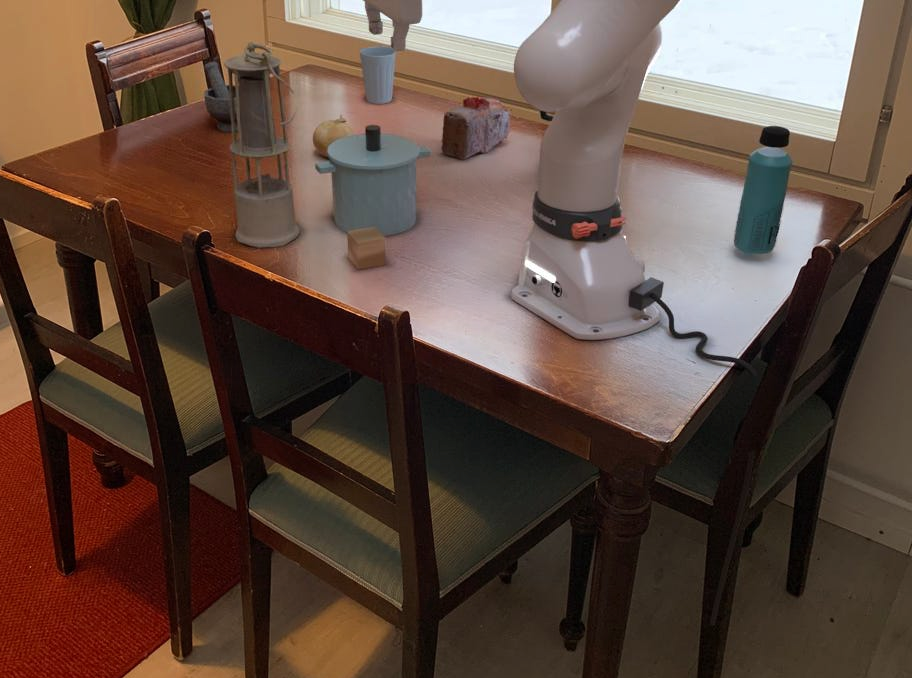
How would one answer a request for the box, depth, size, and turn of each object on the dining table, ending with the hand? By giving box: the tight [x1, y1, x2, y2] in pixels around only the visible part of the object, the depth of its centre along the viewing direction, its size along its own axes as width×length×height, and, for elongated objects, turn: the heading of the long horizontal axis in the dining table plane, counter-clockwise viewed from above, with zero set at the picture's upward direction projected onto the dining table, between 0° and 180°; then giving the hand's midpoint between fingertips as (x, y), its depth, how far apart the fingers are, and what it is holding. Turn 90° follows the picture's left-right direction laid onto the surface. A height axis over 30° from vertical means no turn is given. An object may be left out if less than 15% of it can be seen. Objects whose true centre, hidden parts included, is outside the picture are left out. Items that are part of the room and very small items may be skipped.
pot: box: [314, 145, 432, 237], centre depth 164 cm, size 14×19×12 cm
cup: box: [359, 45, 397, 105], centre depth 216 cm, size 8×8×10 cm
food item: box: [440, 96, 511, 161], centre depth 192 cm, size 14×8×10 cm, turn 142°
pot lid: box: [327, 124, 420, 170], centre depth 160 cm, size 15×15×5 cm
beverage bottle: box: [733, 125, 793, 255], centre depth 151 cm, size 6×7×20 cm
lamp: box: [223, 41, 301, 249], centre depth 153 cm, size 10×13×30 cm
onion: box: [312, 114, 356, 159], centre depth 190 cm, size 8×8×7 cm
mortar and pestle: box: [203, 61, 242, 132], centre depth 201 cm, size 11×9×12 cm
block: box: [346, 227, 387, 271], centre depth 153 cm, size 4×4×4 cm
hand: (386, 41), depth 151 cm, fingers open, 8 cm apart
